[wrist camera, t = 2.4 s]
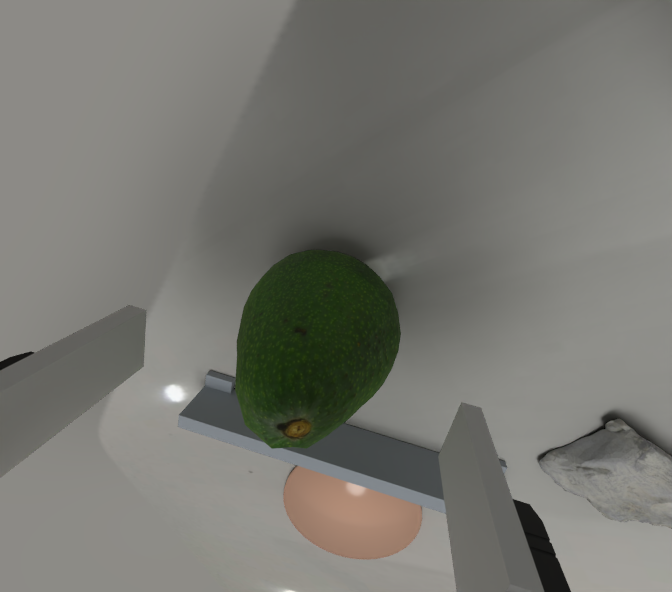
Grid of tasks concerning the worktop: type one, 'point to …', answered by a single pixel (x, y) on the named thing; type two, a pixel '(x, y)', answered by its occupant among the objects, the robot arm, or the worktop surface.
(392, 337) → the fruit
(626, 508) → the stone
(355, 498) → the saucer
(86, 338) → the robot arm
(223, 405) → the acrylic wall
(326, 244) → the worktop surface
